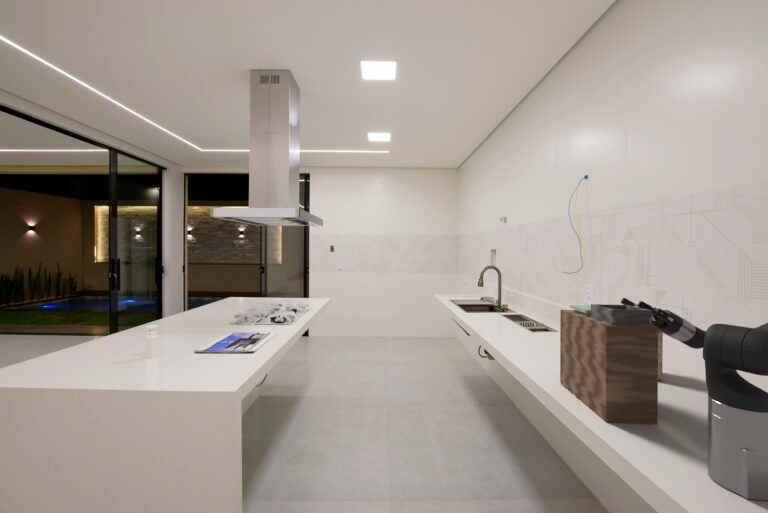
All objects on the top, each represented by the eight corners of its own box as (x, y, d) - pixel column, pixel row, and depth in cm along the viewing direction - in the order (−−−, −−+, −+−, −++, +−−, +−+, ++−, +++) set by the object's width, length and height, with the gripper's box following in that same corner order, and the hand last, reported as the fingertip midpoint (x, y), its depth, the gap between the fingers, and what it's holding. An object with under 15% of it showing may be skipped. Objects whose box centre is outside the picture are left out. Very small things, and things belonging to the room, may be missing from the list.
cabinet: (657, 424, 90) (657, 311, 91) (606, 422, 92) (606, 310, 92) (599, 385, 118) (599, 298, 119) (560, 383, 120) (560, 298, 120)
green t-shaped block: (658, 317, 105) (658, 309, 105) (586, 316, 107) (586, 308, 107) (635, 311, 116) (635, 304, 116) (569, 310, 118) (569, 303, 118)
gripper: (662, 312, 117) (622, 290, 118) (697, 320, 103) (651, 294, 104) (651, 330, 117) (611, 307, 118) (685, 340, 103) (639, 314, 104)
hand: (630, 301), depth 111 cm, fingers open, 8 cm apart
